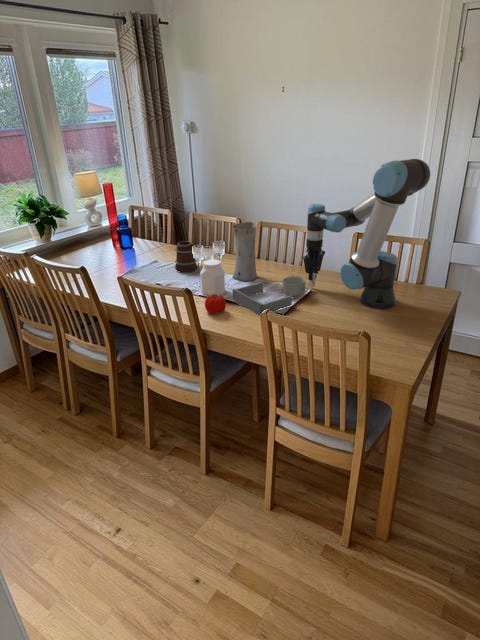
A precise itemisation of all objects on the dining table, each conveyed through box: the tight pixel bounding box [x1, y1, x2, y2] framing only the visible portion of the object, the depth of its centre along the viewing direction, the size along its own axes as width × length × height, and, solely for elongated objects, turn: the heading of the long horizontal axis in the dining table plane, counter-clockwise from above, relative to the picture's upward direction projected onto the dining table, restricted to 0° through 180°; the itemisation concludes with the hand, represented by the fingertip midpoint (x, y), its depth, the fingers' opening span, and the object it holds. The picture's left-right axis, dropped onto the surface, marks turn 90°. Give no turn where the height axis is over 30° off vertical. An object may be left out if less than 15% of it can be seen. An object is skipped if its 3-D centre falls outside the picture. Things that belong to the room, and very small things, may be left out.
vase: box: [232, 221, 258, 282], centre depth 225 cm, size 13×14×28 cm
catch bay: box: [231, 281, 293, 316], centre depth 200 cm, size 22×17×5 cm
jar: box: [199, 259, 226, 296], centre depth 211 cm, size 12×10×15 cm
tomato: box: [204, 294, 227, 315], centre depth 192 cm, size 9×9×8 cm
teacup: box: [281, 274, 306, 299], centre depth 208 cm, size 14×11×8 cm
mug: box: [174, 240, 198, 273], centre depth 243 cm, size 16×12×15 cm
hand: (311, 285), depth 215 cm, fingers closed
